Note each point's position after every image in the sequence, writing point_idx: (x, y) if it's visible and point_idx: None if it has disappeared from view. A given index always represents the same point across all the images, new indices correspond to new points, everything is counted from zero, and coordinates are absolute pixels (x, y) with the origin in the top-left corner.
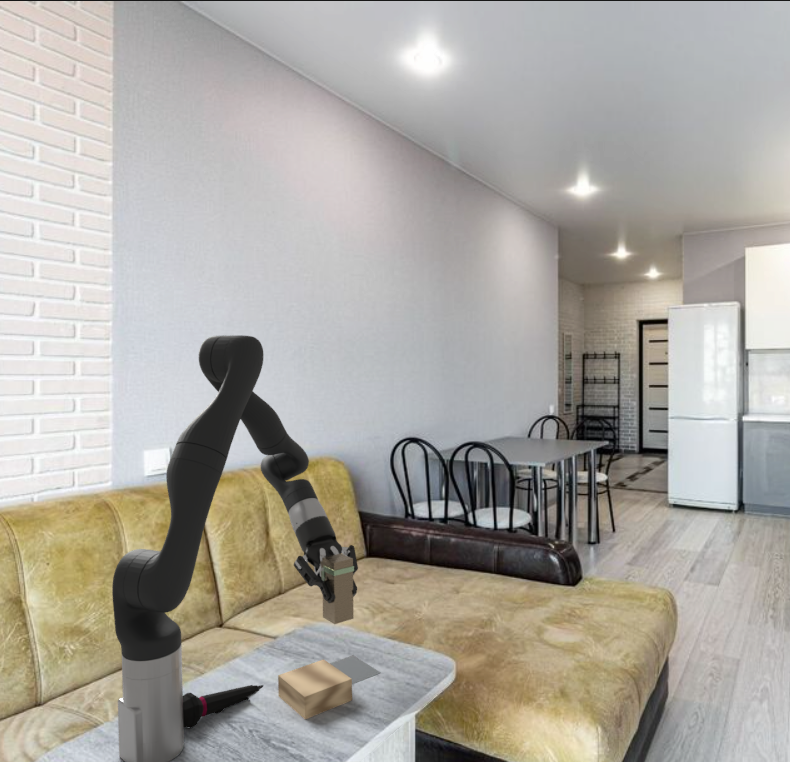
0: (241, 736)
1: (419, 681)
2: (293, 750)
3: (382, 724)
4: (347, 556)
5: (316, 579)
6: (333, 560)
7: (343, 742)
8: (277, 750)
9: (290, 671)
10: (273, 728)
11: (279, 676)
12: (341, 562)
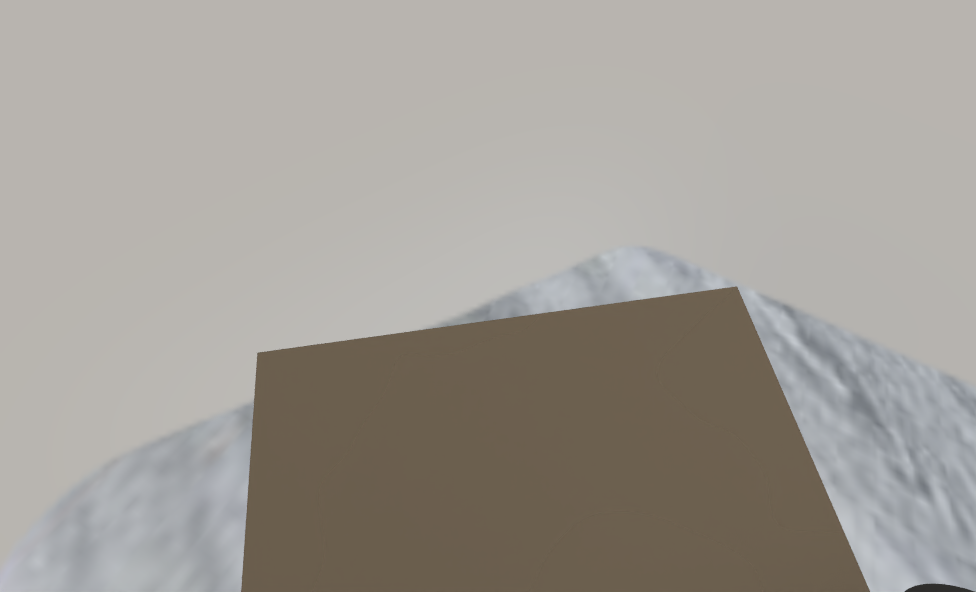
0: (955, 469)
1: (228, 470)
2: (782, 322)
3: (496, 309)
4: (253, 572)
5: (919, 590)
6: (712, 435)
7: (635, 290)
8: (829, 343)
9: None
10: (839, 458)
11: None
12: (552, 329)
